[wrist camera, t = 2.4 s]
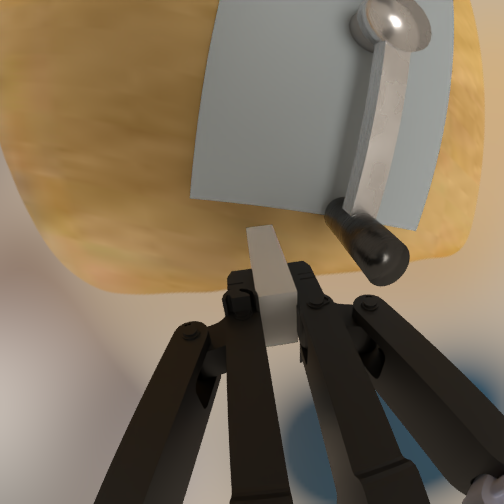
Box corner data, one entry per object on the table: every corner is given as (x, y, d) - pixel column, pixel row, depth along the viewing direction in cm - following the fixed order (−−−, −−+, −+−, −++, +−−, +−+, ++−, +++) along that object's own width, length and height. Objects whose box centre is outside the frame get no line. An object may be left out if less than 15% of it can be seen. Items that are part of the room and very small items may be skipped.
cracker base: (245, -84, 8) (248, -103, 6) (444, -12, 11) (463, -18, 8) (192, 193, 20) (186, 206, 17) (408, 225, 22) (427, 240, 19)
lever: (353, -63, 8) (396, -103, 2) (403, -41, 9) (455, -68, 2) (307, 224, 20) (343, 284, 13) (360, 232, 20) (410, 287, 14)
